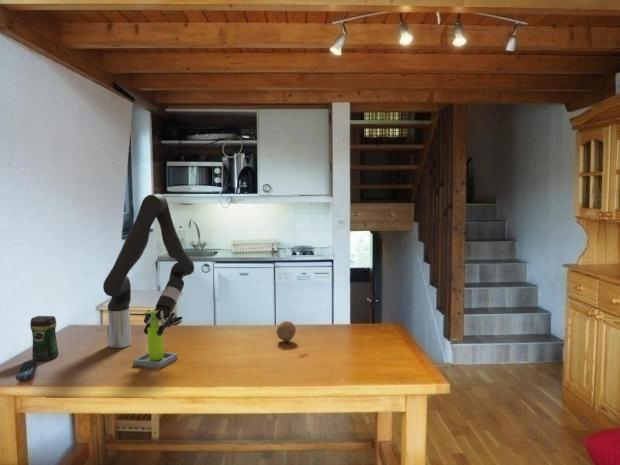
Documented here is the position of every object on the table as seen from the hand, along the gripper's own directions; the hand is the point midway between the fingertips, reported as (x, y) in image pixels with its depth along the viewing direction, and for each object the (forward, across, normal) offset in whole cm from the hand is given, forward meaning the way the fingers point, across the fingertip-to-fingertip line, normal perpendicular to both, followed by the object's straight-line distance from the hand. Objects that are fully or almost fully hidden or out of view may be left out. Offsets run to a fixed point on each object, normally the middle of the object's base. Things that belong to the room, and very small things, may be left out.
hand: (152, 334), depth 199 cm
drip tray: (+8, 0, +10) cm, 13 cm away
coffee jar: (+16, -49, +2) cm, 52 cm away
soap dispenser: (+7, 0, +9) cm, 11 cm away
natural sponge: (-21, +42, +39) cm, 61 cm away
